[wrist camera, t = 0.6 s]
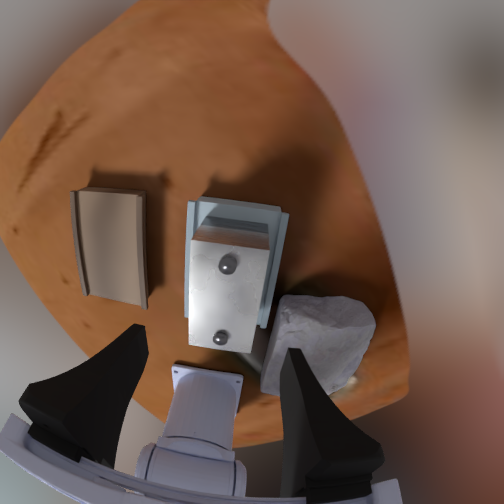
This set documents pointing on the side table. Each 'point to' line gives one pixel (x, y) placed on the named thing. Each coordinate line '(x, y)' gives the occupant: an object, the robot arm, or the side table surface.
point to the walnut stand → (111, 243)
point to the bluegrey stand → (246, 213)
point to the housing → (226, 282)
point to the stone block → (318, 339)
